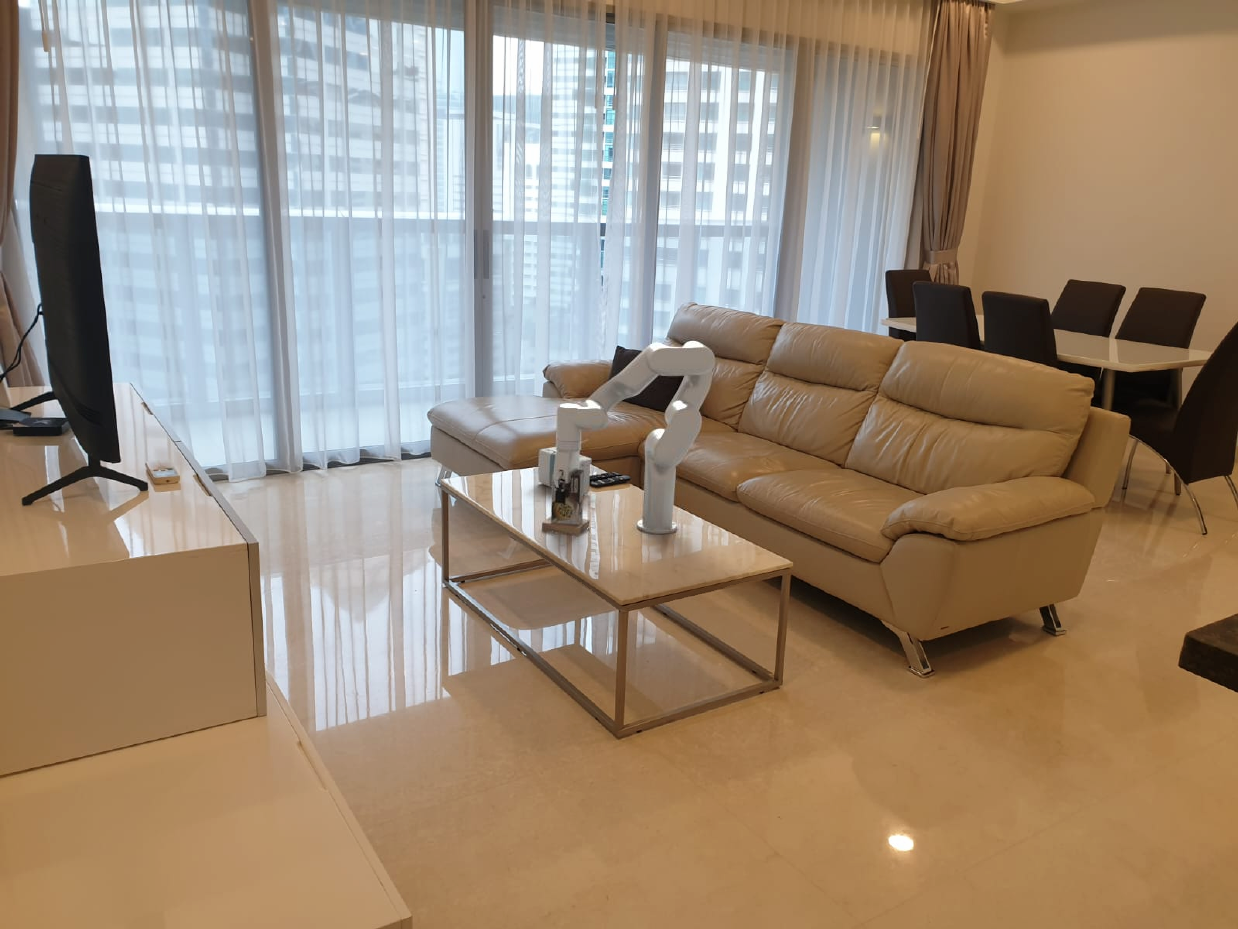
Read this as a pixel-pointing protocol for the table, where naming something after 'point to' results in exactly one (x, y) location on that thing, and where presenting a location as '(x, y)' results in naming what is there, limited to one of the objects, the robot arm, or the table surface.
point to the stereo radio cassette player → (547, 467)
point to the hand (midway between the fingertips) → (566, 498)
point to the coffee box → (569, 501)
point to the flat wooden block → (565, 527)
